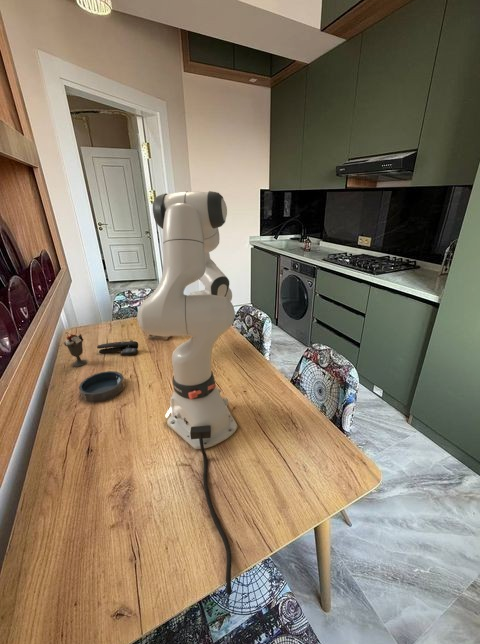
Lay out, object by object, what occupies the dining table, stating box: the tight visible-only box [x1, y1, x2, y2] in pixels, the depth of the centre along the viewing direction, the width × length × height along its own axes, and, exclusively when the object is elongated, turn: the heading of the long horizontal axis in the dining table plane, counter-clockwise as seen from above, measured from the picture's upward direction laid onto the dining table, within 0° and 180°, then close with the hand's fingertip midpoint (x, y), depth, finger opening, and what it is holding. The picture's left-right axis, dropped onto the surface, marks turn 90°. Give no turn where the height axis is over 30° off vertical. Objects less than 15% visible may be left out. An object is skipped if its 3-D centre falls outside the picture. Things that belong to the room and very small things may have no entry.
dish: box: [78, 370, 126, 403], centre depth 101 cm, size 14×14×4 cm
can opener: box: [96, 339, 139, 357], centre depth 125 cm, size 18×7×6 cm, turn 89°
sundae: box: [63, 331, 88, 368], centre depth 115 cm, size 7×7×15 cm
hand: (165, 308), depth 116 cm, fingers closed on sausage, 3 cm apart
